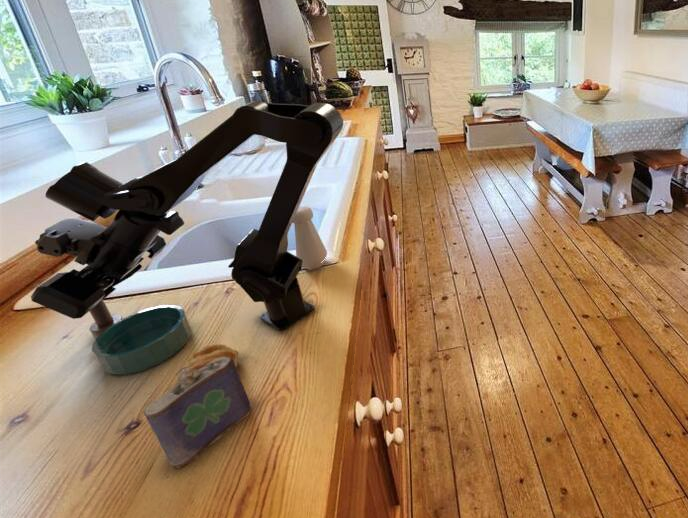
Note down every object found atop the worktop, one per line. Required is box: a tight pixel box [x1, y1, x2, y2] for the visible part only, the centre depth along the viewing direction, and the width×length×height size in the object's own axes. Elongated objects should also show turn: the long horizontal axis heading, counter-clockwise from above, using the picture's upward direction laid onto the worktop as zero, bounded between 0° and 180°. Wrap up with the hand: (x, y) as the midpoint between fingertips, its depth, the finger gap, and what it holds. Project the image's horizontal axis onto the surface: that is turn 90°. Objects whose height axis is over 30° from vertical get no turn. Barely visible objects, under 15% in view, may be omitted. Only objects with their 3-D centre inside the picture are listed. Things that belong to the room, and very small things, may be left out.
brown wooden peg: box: [88, 299, 123, 341], centre depth 67 cm, size 4×4×10 cm
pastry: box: [183, 343, 239, 371], centre depth 57 cm, size 9×7×4 cm
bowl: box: [91, 304, 193, 375], centre depth 64 cm, size 11×11×4 cm
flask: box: [143, 357, 253, 469], centre depth 49 cm, size 9×3×11 cm, turn 151°
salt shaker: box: [292, 205, 328, 271], centre depth 83 cm, size 6×6×13 cm
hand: (83, 301), depth 66 cm, fingers closed on brown wooden peg, 2 cm apart
